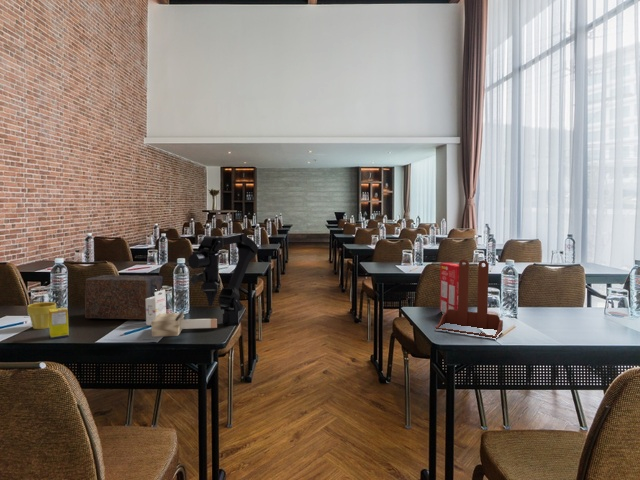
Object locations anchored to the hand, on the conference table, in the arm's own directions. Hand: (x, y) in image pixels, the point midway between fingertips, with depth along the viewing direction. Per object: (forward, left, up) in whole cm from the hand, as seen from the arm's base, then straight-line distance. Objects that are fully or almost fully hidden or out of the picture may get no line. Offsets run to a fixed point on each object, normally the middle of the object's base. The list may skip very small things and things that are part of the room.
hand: (211, 303), depth 180 cm
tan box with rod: (+17, 0, -11) cm, 21 cm away
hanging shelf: (-106, +16, -12) cm, 108 cm away
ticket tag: (+6, 0, -10) cm, 12 cm away
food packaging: (-113, -12, -11) cm, 114 cm away
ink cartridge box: (+25, -15, -11) cm, 32 cm away
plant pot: (+71, -14, -11) cm, 74 cm away
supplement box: (+58, +2, -11) cm, 59 cm away
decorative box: (+42, -29, -12) cm, 53 cm away
